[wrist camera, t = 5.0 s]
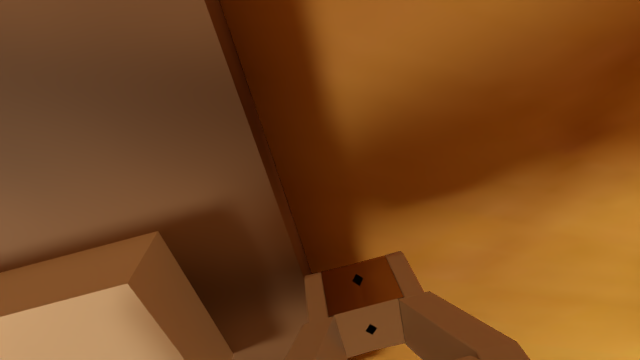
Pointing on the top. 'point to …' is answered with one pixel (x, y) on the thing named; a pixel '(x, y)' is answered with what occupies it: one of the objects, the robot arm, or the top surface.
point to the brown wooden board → (147, 155)
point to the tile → (107, 307)
